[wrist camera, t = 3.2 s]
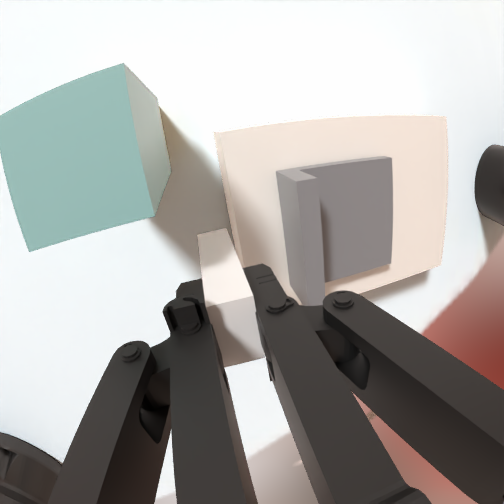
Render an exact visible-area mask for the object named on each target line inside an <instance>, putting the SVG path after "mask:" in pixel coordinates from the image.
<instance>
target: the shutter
mask: <svg viewBox="0 0 504 504" xmlns="http://www.w3.org/2000/svg"><path fill="white" fill-rule="evenodd" d="M276 178H277V185H278V192H279V200H280V207H281V215H282V223H283V231H284V239H285V247H286V256H287V265H288V273H289V282H290V286H291V288H292V289H293V291H294V292H295V294H296V295H297V297H298V298H299V300H300V301H301V303H302V305H303V306H318V305H323V299H324V298H325V283H326V282H330V281H333V280H337V279H340V278H344V277H347V276H351V275H354V274H358V273H361V272H364V271H368V270H371V269H374V268H378V267H381V266H384V265H387V264H391V258H392V237H393V171H392V158H391V157H387V156H378V157H369V158H361V159H352V160H345V161H337V162H330V163H323V164H316V165H309V166H303V167H297V168H290V169H284V170H279V171H276Z"/></svg>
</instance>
